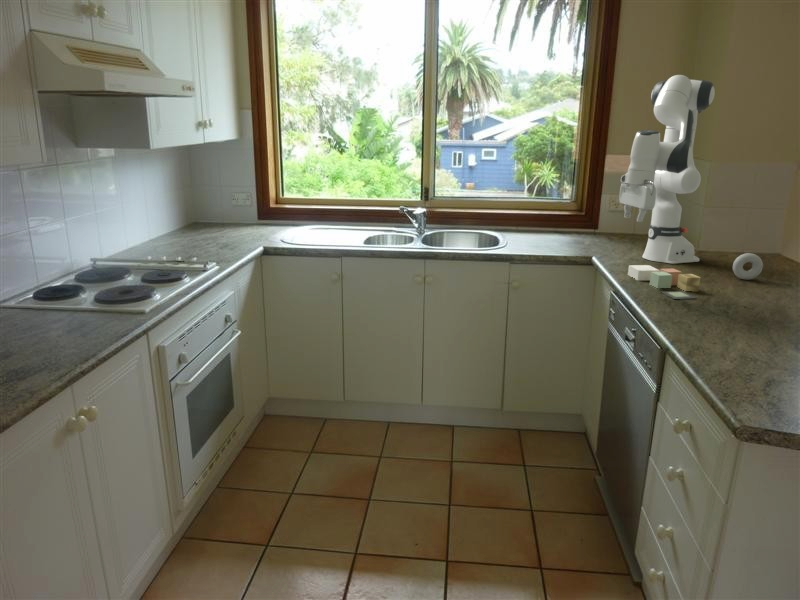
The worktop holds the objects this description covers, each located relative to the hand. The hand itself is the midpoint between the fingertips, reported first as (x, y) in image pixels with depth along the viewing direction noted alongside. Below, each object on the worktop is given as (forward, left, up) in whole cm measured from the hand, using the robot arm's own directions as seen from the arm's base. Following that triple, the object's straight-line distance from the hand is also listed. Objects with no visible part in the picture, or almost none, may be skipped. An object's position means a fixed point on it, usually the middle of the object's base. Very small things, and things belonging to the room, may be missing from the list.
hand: (633, 219), depth 209 cm
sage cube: (-10, +5, -23) cm, 26 cm away
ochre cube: (-18, +9, -23) cm, 31 cm away
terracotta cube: (-16, +1, -23) cm, 29 cm away
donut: (-48, -1, -23) cm, 54 cm away
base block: (-11, -8, -24) cm, 27 cm away
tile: (-10, +16, -23) cm, 30 cm away
